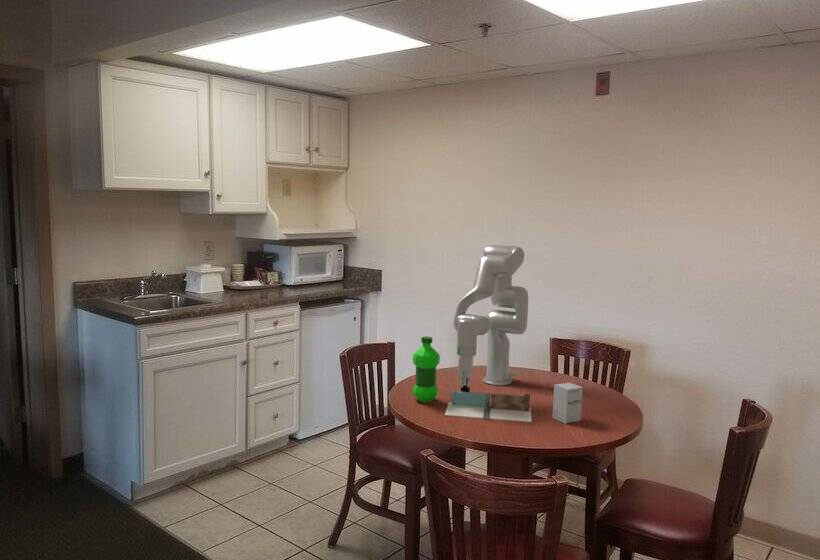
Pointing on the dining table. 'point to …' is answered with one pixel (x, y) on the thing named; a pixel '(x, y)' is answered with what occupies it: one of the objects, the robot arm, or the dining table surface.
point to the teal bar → (470, 398)
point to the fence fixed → (510, 402)
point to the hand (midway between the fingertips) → (465, 396)
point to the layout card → (488, 413)
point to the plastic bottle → (425, 371)
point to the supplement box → (567, 402)
